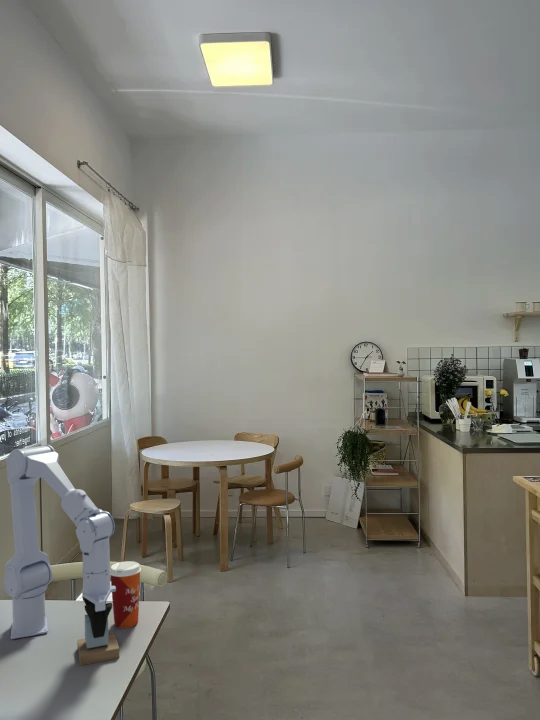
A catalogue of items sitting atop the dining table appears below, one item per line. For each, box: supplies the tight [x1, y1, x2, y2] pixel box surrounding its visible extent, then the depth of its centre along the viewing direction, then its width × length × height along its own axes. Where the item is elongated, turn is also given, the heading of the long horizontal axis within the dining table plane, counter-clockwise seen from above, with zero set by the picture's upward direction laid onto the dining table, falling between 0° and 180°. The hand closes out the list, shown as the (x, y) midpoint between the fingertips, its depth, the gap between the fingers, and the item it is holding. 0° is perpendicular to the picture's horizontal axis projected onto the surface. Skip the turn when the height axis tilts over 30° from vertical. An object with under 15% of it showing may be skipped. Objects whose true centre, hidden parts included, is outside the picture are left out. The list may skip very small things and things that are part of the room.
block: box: [84, 613, 109, 649], centre depth 128 cm, size 4×4×6 cm
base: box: [77, 632, 120, 666], centre depth 128 cm, size 8×8×2 cm
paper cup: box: [110, 560, 142, 629], centre depth 143 cm, size 8×8×14 cm
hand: (97, 632), depth 128 cm, fingers closed on block, 4 cm apart
